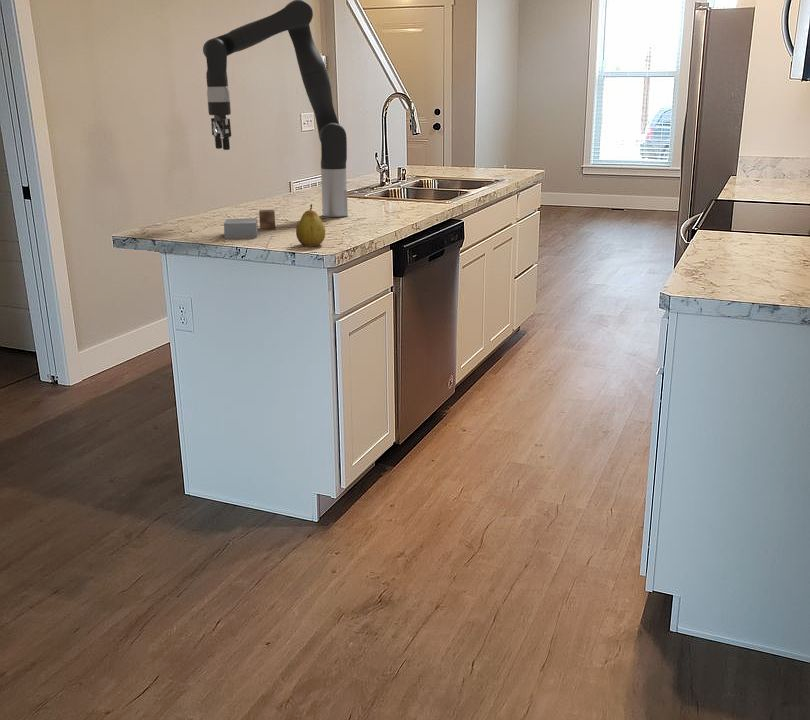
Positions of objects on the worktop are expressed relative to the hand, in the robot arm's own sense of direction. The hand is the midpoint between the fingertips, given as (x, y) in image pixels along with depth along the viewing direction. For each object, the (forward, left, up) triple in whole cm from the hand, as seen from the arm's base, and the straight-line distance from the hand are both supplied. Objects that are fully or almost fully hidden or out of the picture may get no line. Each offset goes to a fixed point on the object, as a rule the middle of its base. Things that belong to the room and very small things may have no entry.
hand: (222, 149), depth 293 cm
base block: (-7, +33, -25) cm, 42 cm away
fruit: (-29, +54, -25) cm, 66 cm away
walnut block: (-15, +20, -25) cm, 35 cm away
